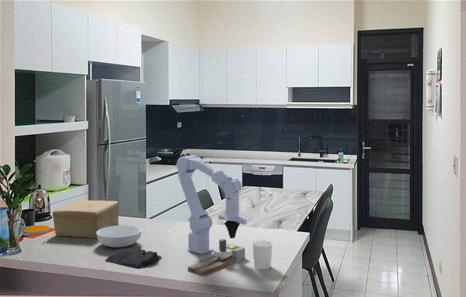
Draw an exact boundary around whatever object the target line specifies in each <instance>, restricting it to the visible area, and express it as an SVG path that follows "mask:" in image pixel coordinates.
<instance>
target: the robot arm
mask: <svg viewBox="0 0 466 297" xmlns="http://www.w3.org/2000/svg"><path fill="white" fill-rule="evenodd" d="M175 166H176V169H177V173H178V179H179V182H180V185H181V188H182V191H183V194H184V197H185V200H186V202H187V205H188V207H189V212H190V215H189V217H188V221H189V228H190V231H189V233H188V235H187V236H188V241H187V244H188V247H187V249H186V251H189V252H192V253H195V254H199V255H204V254H207V253H209V252H212V251H214V248H211V247H210V230H211V228H212V226H213V220H212V218H211V216H210V215H209V213H208V211H206V210H205V209H204V208H203V206H202V204H201V201H200V198H199V196H198V192H197V190H196V187H195V184H194V181H193V178H192V176H193V174H194V173H195V171H196V170H198V171H200V172H202V173H203V174H204V175H206V176H208V177H210V178H211V181H212V182H213V183H214V184H216V185H218V186H219V187H221V189H222V191H223V193H224V197H225V214H218V216H217V217H218V220H223V221H225V222H224V225H225V228H226V230H227V232H228V237H229V238H230V239H235V238H236V235H237V231H238V228H239V226H240V225H241V224H242V225H244V226H245V225H247V223H248V222H247V219H246V218H243V217H241V216H240V191H241V189H242V183H241V181H240V180H239V179H238V178H233V176H229V175H227V174H226V173H225V172H224V171H223V170H219V169H218V170H215V169H214V168H213V167H212V166H211V165H209V164H207V163H206V162H205V161H203V159H202V158H201V157H199V156H198V155H197V154H192V155H187V156H180V157H179V158H178V159H177V162H176V164H175Z"/></svg>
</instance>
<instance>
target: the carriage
mask: <svg viewBox="0 0 466 297" xmlns="http://www.w3.org/2000/svg"><path fill="white" fill-rule="evenodd" d="M226 245H227V240H226V239H219V240H218V248H217V249H213V256H216V258H217V257H221V260H223V259H225V258H228V257H230V256H231V255H232V250H228V249H226Z"/></svg>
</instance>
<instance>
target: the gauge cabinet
mask: <svg viewBox="0 0 466 297" xmlns="http://www.w3.org/2000/svg"><path fill="white" fill-rule="evenodd" d="M232 245H234V246H237V249H234V250H232V249H229V248H228V247H229V246H232ZM226 249H228V250H232V255H231V256H230V257H234V258H236V261H237V262H239V261H241V260H244V259H245V258H246V248H245V247H244V246H239V245H235V244H233V243H232V244H231V243H229V244H226ZM243 258H244V259H243ZM238 260H239V261H238Z"/></svg>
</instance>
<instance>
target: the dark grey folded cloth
mask: <svg viewBox="0 0 466 297" xmlns="http://www.w3.org/2000/svg"><path fill="white" fill-rule="evenodd" d="M162 258H163V257H162V256H161V255H158V252H157V251H151V250H148V251H146V249H140V248H135V249H133V250H131V249H129V248H128V249H127V248H117V250H115V251H114V252H113V253H111V254H110V255H109V256H108V257H107V258H106V259H105V261H104V262H106V263H111V264H115V265H119V266H124V267H128V268H133V269H138V270H140V269H145V268H147V267H149V266H152V265H154V264H156V263H158V262H159V261H160V260H161V259H162Z"/></svg>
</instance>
